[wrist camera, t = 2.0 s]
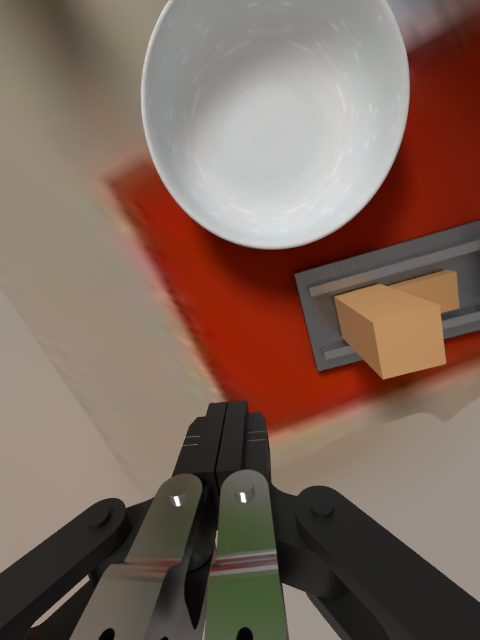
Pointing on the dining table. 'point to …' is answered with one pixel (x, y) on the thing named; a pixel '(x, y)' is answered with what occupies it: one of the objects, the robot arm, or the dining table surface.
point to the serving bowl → (274, 113)
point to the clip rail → (387, 269)
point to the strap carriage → (399, 322)
